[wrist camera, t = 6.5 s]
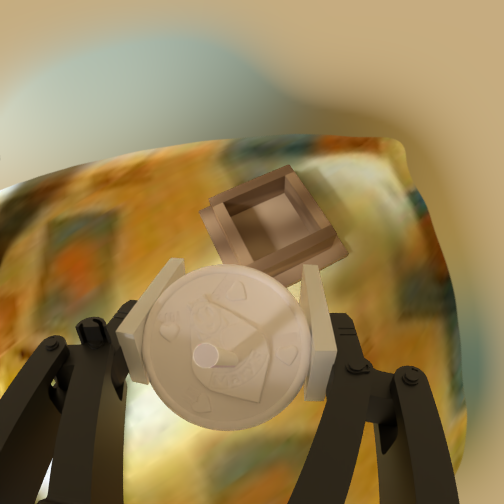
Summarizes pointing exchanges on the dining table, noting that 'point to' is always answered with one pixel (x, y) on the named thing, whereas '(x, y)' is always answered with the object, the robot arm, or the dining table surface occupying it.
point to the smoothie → (226, 347)
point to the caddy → (272, 227)
